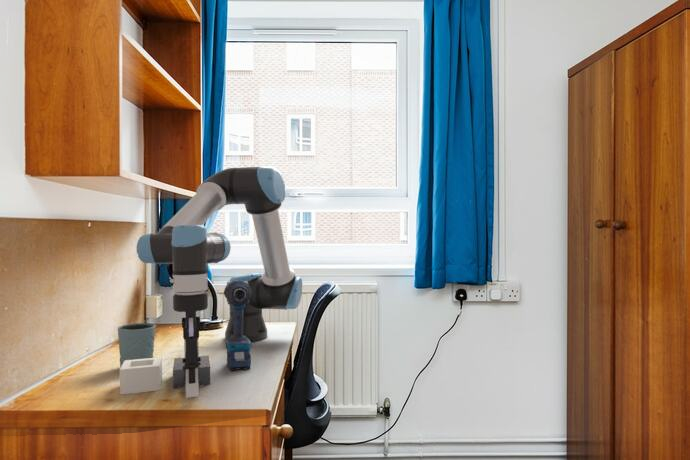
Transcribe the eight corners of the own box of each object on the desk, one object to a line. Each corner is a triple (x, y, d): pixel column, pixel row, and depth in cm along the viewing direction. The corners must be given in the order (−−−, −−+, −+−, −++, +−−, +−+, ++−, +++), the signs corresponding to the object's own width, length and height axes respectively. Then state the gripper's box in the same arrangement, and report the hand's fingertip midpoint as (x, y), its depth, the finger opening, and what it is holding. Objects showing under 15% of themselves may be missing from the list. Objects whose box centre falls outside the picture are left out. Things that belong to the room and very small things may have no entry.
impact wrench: (226, 380, 127) (224, 284, 127) (224, 358, 149) (222, 276, 149) (257, 377, 129) (255, 283, 129) (250, 356, 151) (248, 275, 151)
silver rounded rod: (185, 375, 132) (184, 320, 132) (198, 374, 133) (197, 319, 133) (184, 379, 129) (183, 322, 129) (199, 377, 130) (198, 321, 130)
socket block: (174, 374, 133) (174, 358, 133) (209, 371, 136) (208, 355, 136) (173, 388, 121) (172, 370, 121) (210, 384, 124) (210, 366, 124)
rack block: (125, 383, 126) (124, 360, 126) (162, 379, 129) (161, 357, 129) (120, 394, 117) (119, 369, 117) (160, 390, 120) (159, 365, 120)
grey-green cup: (123, 364, 145) (122, 323, 145) (158, 361, 147) (158, 321, 147) (114, 373, 135) (113, 330, 135) (153, 370, 137) (152, 328, 137)
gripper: (173, 290, 116) (175, 389, 116) (171, 297, 104) (174, 407, 104) (206, 288, 119) (208, 385, 119) (208, 295, 106) (210, 403, 106)
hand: (192, 395), depth 111 cm, fingers closed
